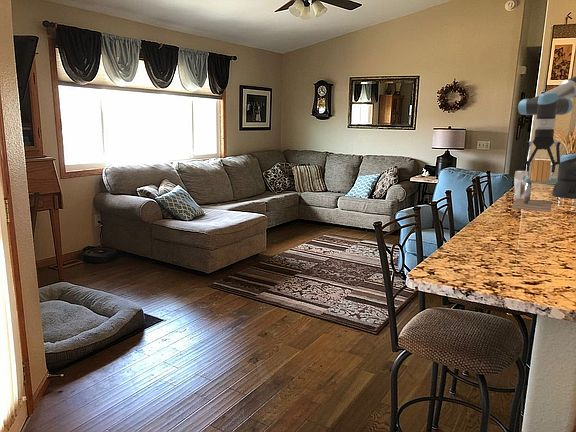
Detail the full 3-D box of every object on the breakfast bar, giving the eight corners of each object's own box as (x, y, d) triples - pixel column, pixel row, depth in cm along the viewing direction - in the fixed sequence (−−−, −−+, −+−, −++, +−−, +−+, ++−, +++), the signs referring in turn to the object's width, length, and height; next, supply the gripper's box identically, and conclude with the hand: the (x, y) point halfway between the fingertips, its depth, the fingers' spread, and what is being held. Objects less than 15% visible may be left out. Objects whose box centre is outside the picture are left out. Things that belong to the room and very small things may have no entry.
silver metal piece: (524, 199, 233) (526, 181, 231) (529, 200, 232) (531, 182, 230) (522, 203, 224) (524, 184, 222) (528, 203, 223) (530, 185, 221)
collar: (530, 178, 215) (532, 159, 213) (549, 179, 211) (551, 160, 209) (529, 180, 208) (531, 161, 206) (548, 181, 204) (550, 161, 202)
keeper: (525, 181, 229) (525, 176, 228) (525, 181, 232) (526, 176, 231) (556, 183, 222) (557, 178, 222) (556, 182, 225) (557, 177, 224)
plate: (516, 201, 237) (516, 198, 237) (551, 204, 229) (552, 201, 228) (510, 211, 212) (510, 208, 211) (549, 215, 204) (550, 211, 203)
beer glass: (523, 198, 244) (526, 170, 241) (529, 200, 238) (532, 172, 234) (510, 198, 245) (512, 170, 242) (515, 200, 238) (518, 172, 235)
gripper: (518, 128, 207) (514, 178, 212) (571, 129, 196) (565, 181, 201) (520, 128, 213) (515, 176, 218) (571, 128, 202) (565, 179, 207)
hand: (539, 178), depth 210 cm, fingers closed on collar, 8 cm apart
